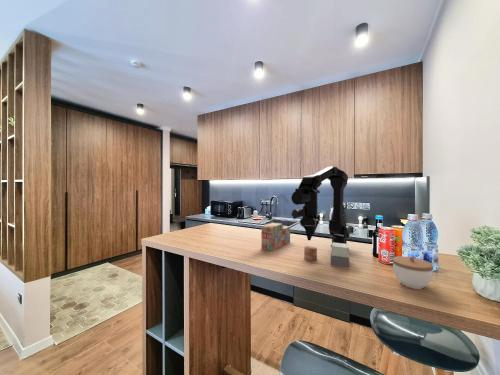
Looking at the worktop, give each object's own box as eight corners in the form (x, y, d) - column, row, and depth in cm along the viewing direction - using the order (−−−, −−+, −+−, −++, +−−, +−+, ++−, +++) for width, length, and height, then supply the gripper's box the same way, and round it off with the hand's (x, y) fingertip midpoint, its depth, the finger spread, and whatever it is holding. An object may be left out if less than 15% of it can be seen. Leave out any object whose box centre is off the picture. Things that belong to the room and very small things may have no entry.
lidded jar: (407, 292, 65) (408, 262, 65) (385, 277, 76) (385, 251, 76) (442, 292, 65) (442, 262, 65) (415, 277, 76) (415, 251, 76)
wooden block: (313, 256, 98) (313, 245, 98) (319, 260, 93) (319, 249, 93) (302, 257, 97) (302, 246, 97) (307, 261, 92) (307, 250, 92)
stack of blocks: (280, 240, 127) (280, 220, 126) (290, 242, 123) (290, 221, 123) (261, 249, 109) (261, 225, 109) (271, 251, 106) (271, 227, 105)
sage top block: (332, 251, 94) (332, 242, 94) (347, 253, 91) (347, 244, 91) (331, 255, 88) (331, 245, 88) (347, 257, 86) (347, 247, 86)
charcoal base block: (331, 259, 95) (331, 250, 94) (348, 262, 92) (349, 252, 92) (330, 264, 88) (330, 255, 88) (349, 267, 85) (349, 257, 85)
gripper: (297, 201, 106) (297, 231, 107) (288, 204, 90) (287, 240, 90) (320, 202, 102) (320, 234, 102) (315, 205, 85) (315, 244, 85)
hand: (310, 237), depth 95 cm, fingers open, 9 cm apart
